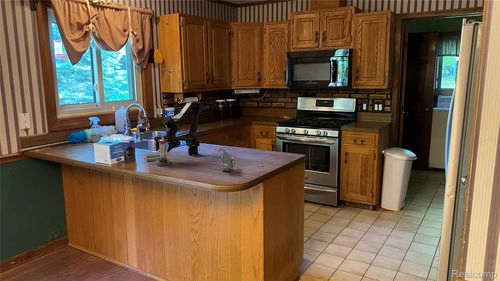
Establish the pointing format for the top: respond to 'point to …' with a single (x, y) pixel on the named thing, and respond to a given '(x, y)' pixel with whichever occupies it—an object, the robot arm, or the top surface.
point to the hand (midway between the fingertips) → (161, 151)
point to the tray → (152, 158)
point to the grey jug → (226, 160)
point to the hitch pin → (163, 150)
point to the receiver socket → (163, 162)
